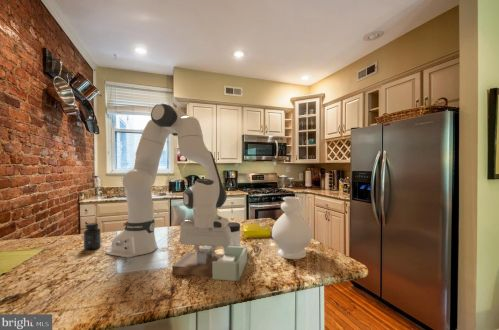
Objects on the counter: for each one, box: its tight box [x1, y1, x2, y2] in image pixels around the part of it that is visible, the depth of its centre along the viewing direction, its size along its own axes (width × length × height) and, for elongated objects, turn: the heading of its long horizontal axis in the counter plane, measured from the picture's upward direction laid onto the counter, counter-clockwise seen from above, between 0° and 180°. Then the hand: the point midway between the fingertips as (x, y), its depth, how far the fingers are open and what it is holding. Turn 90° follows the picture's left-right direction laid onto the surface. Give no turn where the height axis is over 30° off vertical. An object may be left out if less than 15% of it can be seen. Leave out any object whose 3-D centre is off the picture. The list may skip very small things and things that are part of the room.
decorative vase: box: [271, 196, 313, 260], centre depth 102 cm, size 18×18×25 cm
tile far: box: [222, 255, 236, 262], centre depth 91 cm, size 5×5×2 cm
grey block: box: [196, 246, 216, 266], centre depth 89 cm, size 4×10×4 cm, turn 171°
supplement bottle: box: [83, 222, 102, 251], centre depth 112 cm, size 7×7×12 cm
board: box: [171, 252, 224, 278], centre depth 89 cm, size 16×13×3 cm
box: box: [212, 246, 248, 282], centre depth 87 cm, size 10×16×6 cm, turn 170°
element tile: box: [242, 222, 272, 239], centre depth 132 cm, size 15×15×5 cm
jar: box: [222, 221, 241, 252], centre depth 107 cm, size 9×8×12 cm
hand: (205, 256), depth 88 cm, fingers closed on grey block, 3 cm apart
